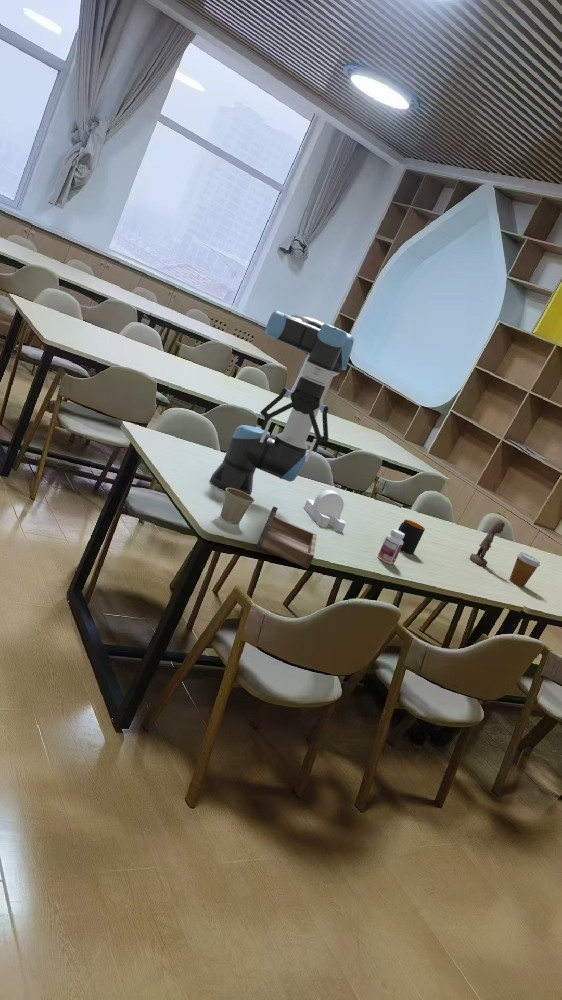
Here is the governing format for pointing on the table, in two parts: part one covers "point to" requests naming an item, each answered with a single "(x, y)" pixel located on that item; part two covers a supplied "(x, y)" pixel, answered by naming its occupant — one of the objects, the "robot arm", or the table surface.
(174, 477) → the table surface
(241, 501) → the flower pot
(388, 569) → the table surface
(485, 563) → the figurine
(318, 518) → the bracket
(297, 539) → the wooden tray
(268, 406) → the robot arm
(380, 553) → the pill bottle
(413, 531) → the mug
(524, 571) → the disposable coffee cup
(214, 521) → the table surface
